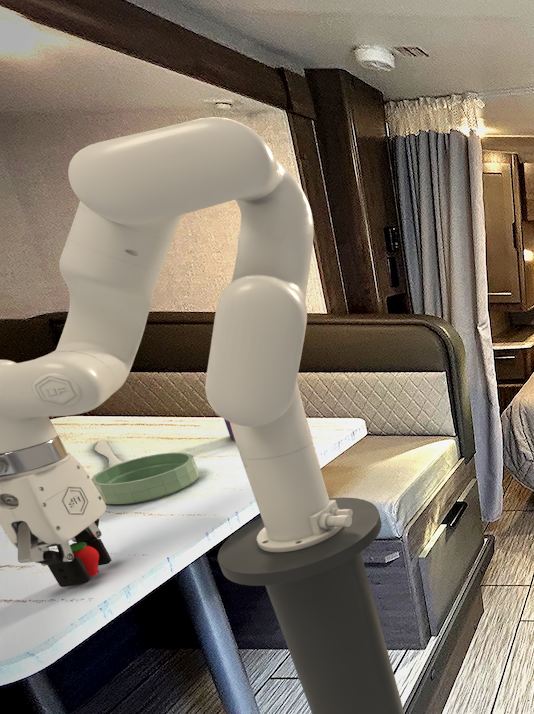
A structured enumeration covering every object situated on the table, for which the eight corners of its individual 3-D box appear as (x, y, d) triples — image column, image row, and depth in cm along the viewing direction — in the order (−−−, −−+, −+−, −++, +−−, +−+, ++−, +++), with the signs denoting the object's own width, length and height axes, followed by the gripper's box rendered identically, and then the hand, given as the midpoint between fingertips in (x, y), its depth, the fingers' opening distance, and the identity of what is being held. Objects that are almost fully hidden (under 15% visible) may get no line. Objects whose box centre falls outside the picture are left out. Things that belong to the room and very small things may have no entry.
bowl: (218, 472, 103) (210, 452, 101) (153, 507, 90) (143, 485, 88) (152, 472, 104) (144, 452, 102) (78, 507, 91) (67, 484, 89)
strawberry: (114, 566, 73) (99, 539, 71) (86, 583, 69) (70, 555, 67) (89, 566, 73) (74, 539, 71) (60, 583, 69) (44, 555, 68)
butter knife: (105, 471, 103) (125, 466, 105) (91, 442, 119) (108, 438, 121) (107, 474, 103) (126, 468, 105) (92, 445, 119) (109, 440, 121)
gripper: (7, 480, 58) (80, 606, 65) (101, 430, 72) (152, 537, 79) (-80, 492, 56) (5, 620, 63) (35, 438, 70) (93, 547, 77)
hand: (87, 573), depth 71 cm, fingers closed on strawberry, 3 cm apart
